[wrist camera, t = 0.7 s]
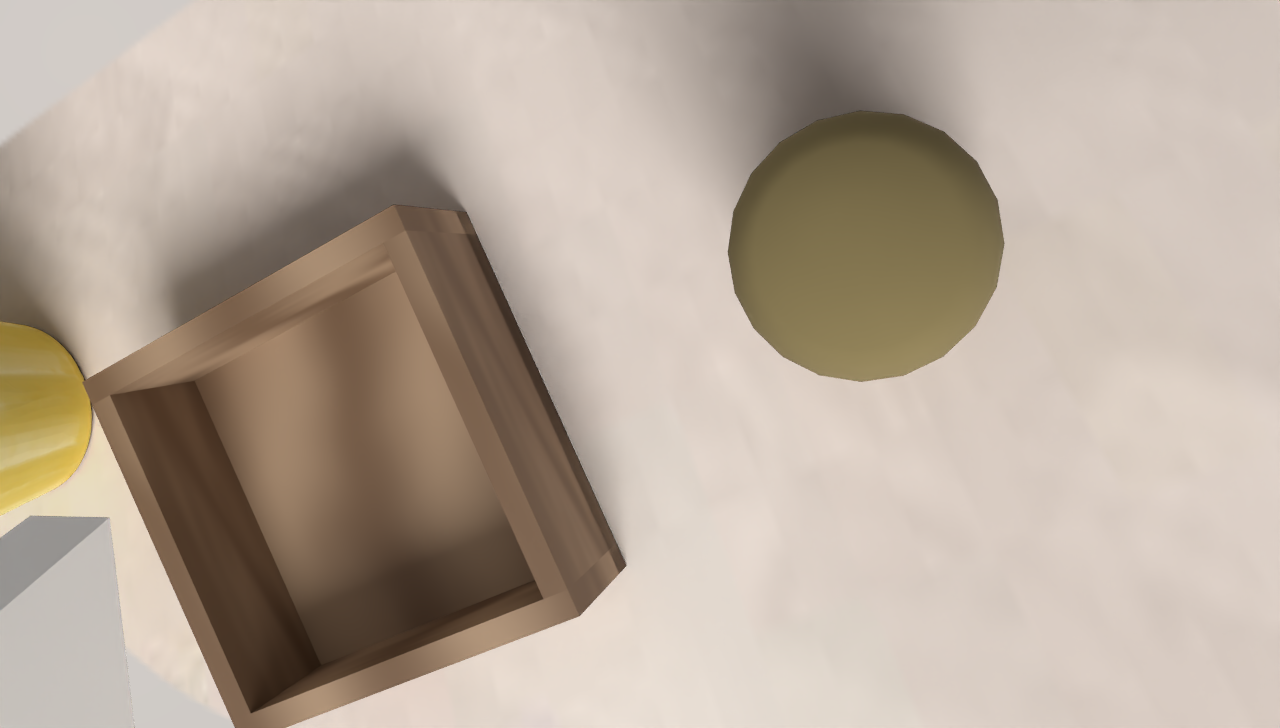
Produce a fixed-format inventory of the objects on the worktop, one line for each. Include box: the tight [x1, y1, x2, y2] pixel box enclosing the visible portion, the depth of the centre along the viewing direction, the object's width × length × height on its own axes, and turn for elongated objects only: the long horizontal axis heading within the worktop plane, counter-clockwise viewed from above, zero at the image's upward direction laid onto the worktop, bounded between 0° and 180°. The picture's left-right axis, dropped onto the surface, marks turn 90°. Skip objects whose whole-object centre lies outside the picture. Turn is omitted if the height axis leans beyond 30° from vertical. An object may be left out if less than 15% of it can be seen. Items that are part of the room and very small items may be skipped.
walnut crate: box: [82, 205, 626, 728], centre depth 30 cm, size 13×13×4 cm
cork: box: [728, 111, 1004, 382], centre depth 22 cm, size 6×6×11 cm
